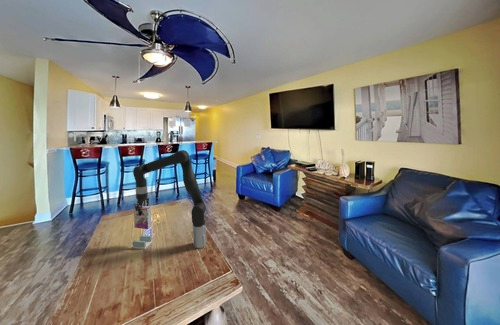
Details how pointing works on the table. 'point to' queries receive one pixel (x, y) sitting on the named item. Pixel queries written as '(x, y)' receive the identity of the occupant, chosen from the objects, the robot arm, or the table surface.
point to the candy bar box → (143, 218)
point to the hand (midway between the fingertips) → (142, 213)
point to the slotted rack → (142, 242)
